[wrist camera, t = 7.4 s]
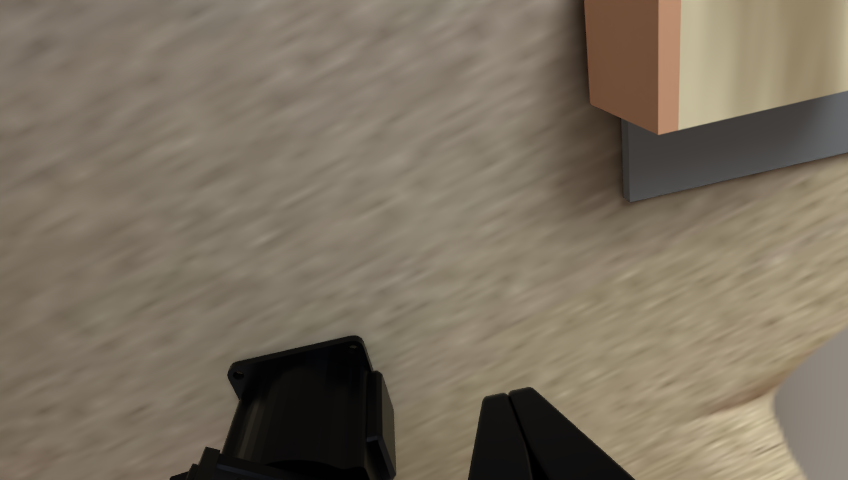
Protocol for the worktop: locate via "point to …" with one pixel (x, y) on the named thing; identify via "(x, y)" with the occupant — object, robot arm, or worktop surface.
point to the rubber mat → (732, 146)
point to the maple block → (712, 57)
